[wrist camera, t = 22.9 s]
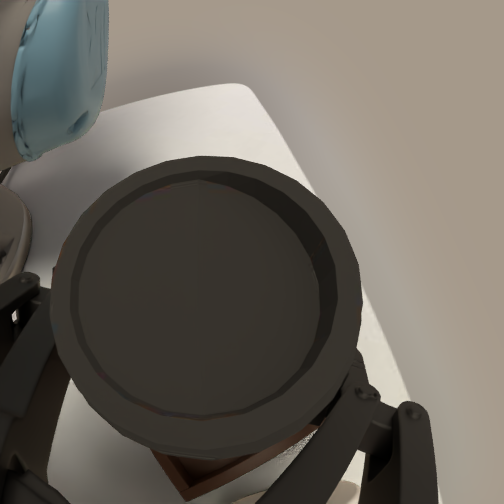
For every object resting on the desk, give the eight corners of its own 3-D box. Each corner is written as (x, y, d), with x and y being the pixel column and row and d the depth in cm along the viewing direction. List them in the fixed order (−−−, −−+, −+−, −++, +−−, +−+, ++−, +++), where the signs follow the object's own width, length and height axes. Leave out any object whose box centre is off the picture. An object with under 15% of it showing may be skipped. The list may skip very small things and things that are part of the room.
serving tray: (103, 332, 21) (88, 321, 18) (252, 252, 25) (254, 234, 22) (191, 491, 15) (185, 502, 13) (353, 392, 20) (368, 389, 17)
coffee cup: (277, 308, 22) (336, 143, 9) (290, 422, 18) (412, 438, 5) (162, 313, 21) (72, 158, 8) (164, 429, 17) (24, 448, 4)
